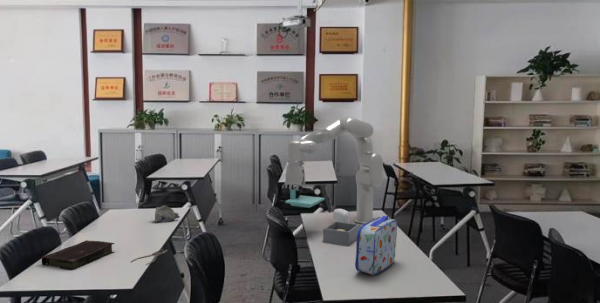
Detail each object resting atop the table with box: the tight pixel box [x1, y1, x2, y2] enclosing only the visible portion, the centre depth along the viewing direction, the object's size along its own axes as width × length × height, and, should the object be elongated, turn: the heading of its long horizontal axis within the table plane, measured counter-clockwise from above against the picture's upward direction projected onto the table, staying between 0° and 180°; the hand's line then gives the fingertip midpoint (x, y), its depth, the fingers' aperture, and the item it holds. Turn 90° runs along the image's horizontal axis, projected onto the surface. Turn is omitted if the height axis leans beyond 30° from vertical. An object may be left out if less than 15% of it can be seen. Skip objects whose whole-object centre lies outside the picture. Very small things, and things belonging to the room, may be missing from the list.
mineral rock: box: [154, 204, 180, 224], centre depth 269 cm, size 13×11×10 cm
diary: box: [41, 240, 115, 271], centre depth 207 cm, size 19×25×5 cm
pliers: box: [130, 248, 168, 266], centre depth 209 cm, size 10×1×20 cm
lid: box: [284, 187, 325, 208], centre depth 243 cm, size 17×15×8 cm
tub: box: [322, 221, 361, 247], centre depth 235 cm, size 16×14×7 cm
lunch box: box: [354, 215, 398, 276], centre depth 196 cm, size 28×10×22 cm, turn 148°
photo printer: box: [333, 208, 351, 223], centre depth 251 cm, size 10×4×12 cm, turn 39°
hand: (294, 197), depth 246 cm, fingers closed on lid, 2 cm apart
